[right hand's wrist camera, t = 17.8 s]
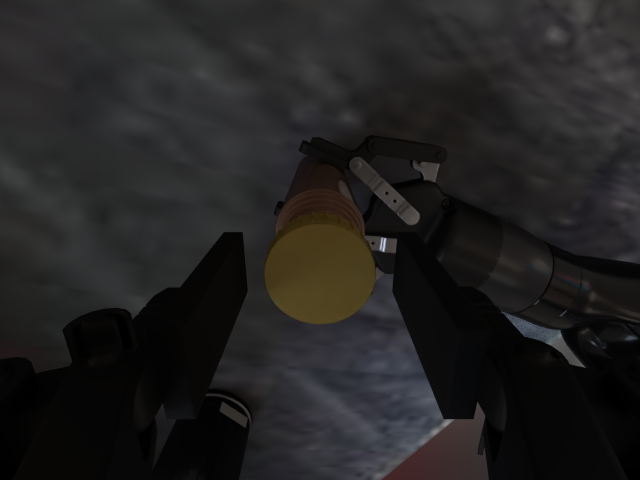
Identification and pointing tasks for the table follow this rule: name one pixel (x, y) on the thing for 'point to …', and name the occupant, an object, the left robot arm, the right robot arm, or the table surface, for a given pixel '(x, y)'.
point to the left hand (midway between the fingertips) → (289, 178)
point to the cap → (320, 268)
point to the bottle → (319, 194)
